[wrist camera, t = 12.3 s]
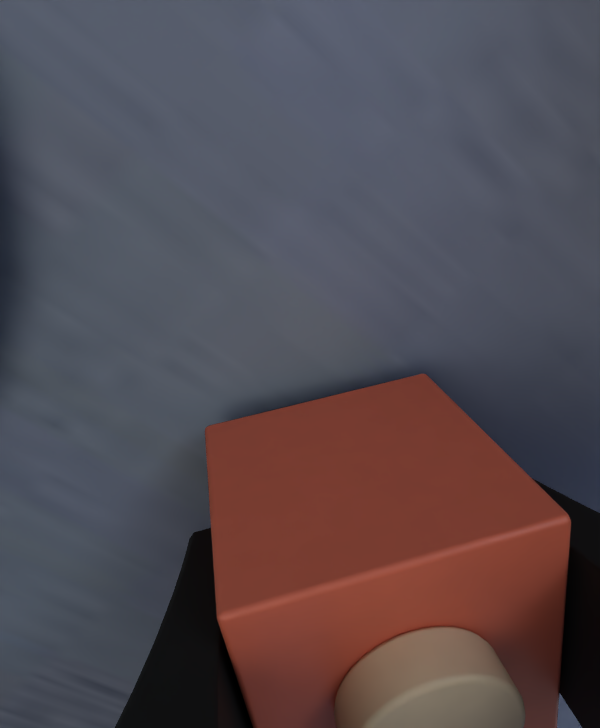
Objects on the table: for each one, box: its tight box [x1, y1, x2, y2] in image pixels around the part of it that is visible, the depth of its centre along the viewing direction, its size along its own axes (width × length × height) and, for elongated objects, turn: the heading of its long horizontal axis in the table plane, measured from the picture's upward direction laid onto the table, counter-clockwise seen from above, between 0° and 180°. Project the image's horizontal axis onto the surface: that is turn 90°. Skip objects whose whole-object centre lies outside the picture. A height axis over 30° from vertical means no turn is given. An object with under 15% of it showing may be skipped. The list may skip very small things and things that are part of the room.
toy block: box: [205, 374, 571, 728], centre depth 9 cm, size 5×5×5 cm
